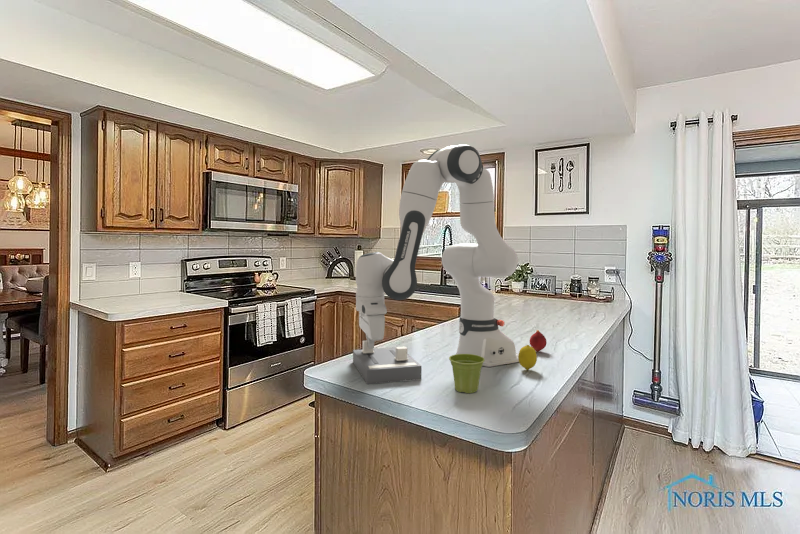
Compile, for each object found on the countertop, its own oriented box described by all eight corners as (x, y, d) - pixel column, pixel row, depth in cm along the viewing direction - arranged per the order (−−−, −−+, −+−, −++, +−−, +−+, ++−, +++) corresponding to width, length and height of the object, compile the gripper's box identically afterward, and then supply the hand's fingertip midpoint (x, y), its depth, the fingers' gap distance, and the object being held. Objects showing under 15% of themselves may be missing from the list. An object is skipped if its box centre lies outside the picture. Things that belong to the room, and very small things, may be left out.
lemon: (537, 373, 131) (538, 347, 130) (518, 372, 132) (519, 346, 131) (535, 368, 136) (536, 343, 136) (517, 366, 137) (518, 342, 137)
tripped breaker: (372, 350, 139) (372, 339, 139) (374, 352, 136) (374, 341, 136) (361, 351, 138) (361, 340, 138) (363, 353, 135) (363, 342, 135)
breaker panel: (399, 358, 145) (399, 346, 145) (421, 379, 124) (421, 365, 124) (352, 362, 141) (353, 349, 140) (367, 384, 120) (367, 369, 119)
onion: (547, 351, 157) (548, 329, 156) (543, 354, 152) (544, 332, 151) (531, 348, 160) (532, 327, 159) (527, 352, 155) (527, 330, 154)
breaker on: (405, 357, 131) (405, 346, 131) (408, 360, 129) (408, 348, 128) (394, 358, 130) (394, 346, 130) (396, 360, 128) (397, 349, 127)
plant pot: (460, 398, 110) (461, 365, 110) (442, 386, 119) (443, 355, 118) (490, 393, 114) (491, 361, 113) (471, 382, 122) (471, 352, 122)
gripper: (354, 299, 143) (354, 340, 144) (366, 310, 123) (367, 357, 125) (372, 298, 145) (373, 339, 146) (388, 309, 125) (388, 355, 126)
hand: (370, 347), depth 135 cm, fingers closed
